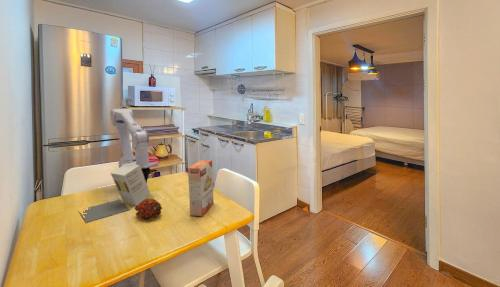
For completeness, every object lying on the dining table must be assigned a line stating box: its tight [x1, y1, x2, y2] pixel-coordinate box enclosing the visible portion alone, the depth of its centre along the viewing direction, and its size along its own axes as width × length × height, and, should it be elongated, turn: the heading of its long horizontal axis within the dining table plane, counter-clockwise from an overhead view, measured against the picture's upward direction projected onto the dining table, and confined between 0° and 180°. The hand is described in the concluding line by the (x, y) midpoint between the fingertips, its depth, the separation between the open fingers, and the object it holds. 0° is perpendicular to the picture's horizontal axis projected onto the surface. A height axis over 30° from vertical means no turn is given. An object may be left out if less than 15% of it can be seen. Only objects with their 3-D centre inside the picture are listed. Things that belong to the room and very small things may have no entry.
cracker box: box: [187, 159, 214, 217], centre depth 110 cm, size 14×6×21 cm, turn 168°
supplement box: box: [110, 163, 152, 207], centre depth 119 cm, size 10×9×17 cm
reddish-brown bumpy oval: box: [134, 198, 163, 220], centre depth 105 cm, size 8×8×12 cm
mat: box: [81, 199, 131, 224], centre depth 113 cm, size 16×17×1 cm
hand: (144, 183), depth 124 cm, fingers closed
